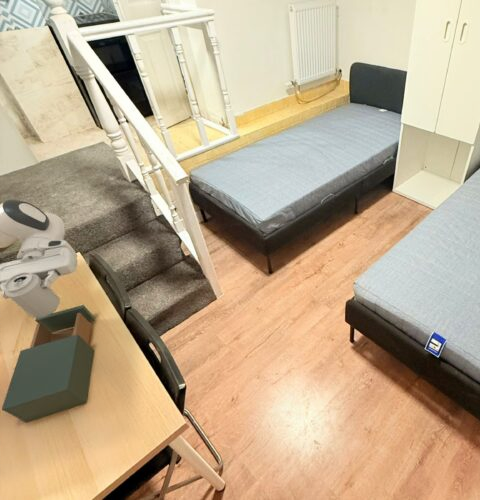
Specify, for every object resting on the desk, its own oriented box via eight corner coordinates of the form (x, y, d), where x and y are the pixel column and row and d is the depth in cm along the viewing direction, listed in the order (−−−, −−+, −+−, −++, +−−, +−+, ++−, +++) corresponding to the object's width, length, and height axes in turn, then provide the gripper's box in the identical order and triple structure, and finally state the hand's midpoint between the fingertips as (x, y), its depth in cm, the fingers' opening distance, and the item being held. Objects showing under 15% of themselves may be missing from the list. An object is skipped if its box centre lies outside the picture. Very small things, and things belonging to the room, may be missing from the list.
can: (64, 294, 96) (37, 265, 87) (60, 314, 91) (31, 286, 82) (34, 302, 94) (4, 274, 85) (28, 323, 89) (-4, 296, 80)
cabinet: (41, 365, 92) (20, 350, 86) (94, 350, 95) (78, 334, 89) (26, 422, 82) (1, 409, 76) (86, 403, 85) (67, 389, 79)
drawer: (51, 326, 100) (36, 314, 95) (96, 314, 103) (84, 301, 98) (38, 374, 90) (21, 362, 85) (88, 359, 92) (75, 347, 87)
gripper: (-12, 257, 90) (-31, 295, 81) (71, 238, 95) (62, 273, 86) (4, 272, 95) (-12, 310, 86) (83, 254, 99) (76, 288, 90)
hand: (26, 291), depth 86 cm, fingers closed on can, 7 cm apart
